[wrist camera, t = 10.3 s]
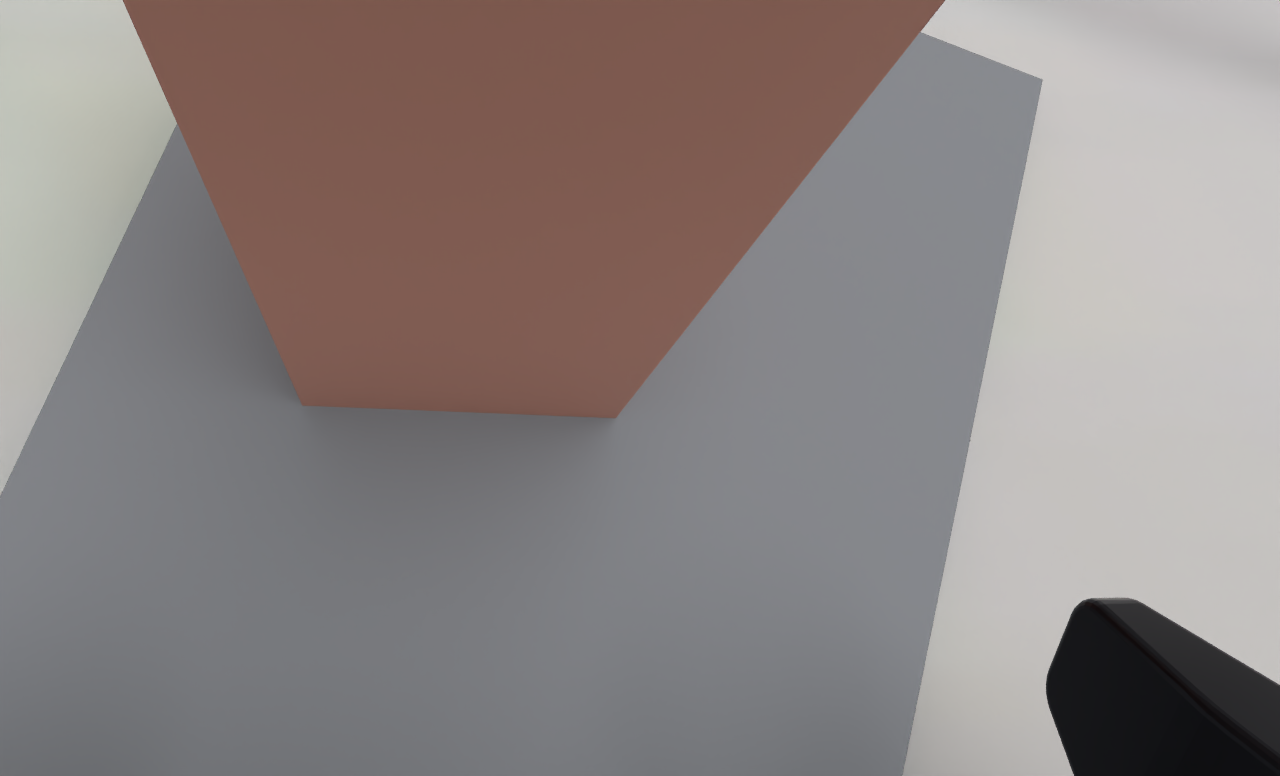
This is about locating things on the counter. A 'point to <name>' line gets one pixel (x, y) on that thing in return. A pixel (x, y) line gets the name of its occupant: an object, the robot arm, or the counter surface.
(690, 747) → the mat
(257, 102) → the card box
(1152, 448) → the counter surface
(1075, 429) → the counter surface
